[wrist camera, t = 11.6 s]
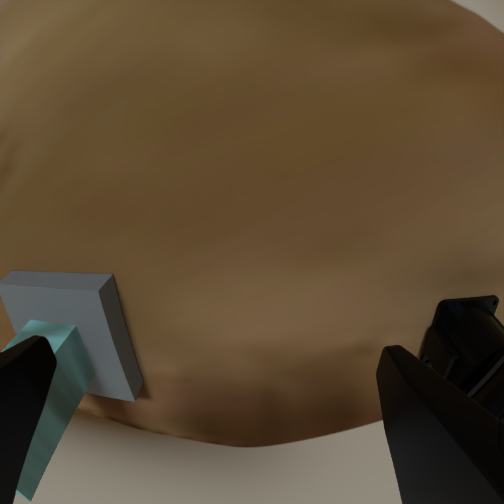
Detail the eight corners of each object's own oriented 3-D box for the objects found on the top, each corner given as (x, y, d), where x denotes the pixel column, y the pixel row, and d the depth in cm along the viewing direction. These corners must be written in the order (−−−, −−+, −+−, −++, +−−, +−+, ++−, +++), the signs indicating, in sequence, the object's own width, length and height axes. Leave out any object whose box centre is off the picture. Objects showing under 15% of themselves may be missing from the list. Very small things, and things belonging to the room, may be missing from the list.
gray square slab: (113, 274, 22) (98, 291, 19) (143, 382, 26) (135, 402, 24) (13, 270, 22) (-4, 283, 20) (50, 365, 26) (39, 381, 24)
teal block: (76, 325, 21) (-16, 459, 9) (95, 374, 23) (30, 501, 11) (30, 319, 21) (-59, 429, 9) (51, 365, 23) (-17, 473, 11)
